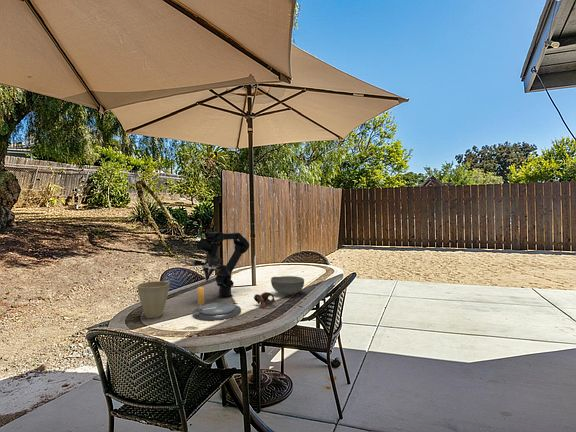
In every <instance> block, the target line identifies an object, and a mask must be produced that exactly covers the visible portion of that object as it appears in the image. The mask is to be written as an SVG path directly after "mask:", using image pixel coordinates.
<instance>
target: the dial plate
mask: <svg viewBox="0 0 576 432" xmlns="http://www.w3.org/2000/svg"><path fill="white" fill-rule="evenodd" d="M233 305H234V306H235V310H234V311H233V312H231V313H228V314H224V315H215V316H210V315H203V314H200V313H199V308H200V306H198V307H196V308H195V309H193V310H192V317H193V318H194V319H196V320H198V319H199V321H203V322H204V321H205V322H206V321H207V322H215V321H214V320H219V321H225V320H224V319H226V320H230V319H233V317H234V318H236V317H238V316H239V315H241V313H242V308H241V307H240V306H239V305H236V304H233ZM229 318H230V319H229Z"/></svg>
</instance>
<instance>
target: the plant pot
mask: <svg viewBox="0 0 576 432" xmlns="http://www.w3.org/2000/svg"><path fill="white" fill-rule="evenodd" d="M136 287H137V292H138V293H137V294H138V297H139V298H138V299H139V301H140V305H141V307H142V310H143V313H144V315H145V317H146V318H147V319H156V318H160V317H161V316H162V315H163V313H164V310H165V307H166V303H167V300H168V295H169V288H170V282H168V281H164V280H163V281H162V280H158V281H147V282H141V283H139V284H137V286H136Z"/></svg>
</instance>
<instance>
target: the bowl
mask: <svg viewBox="0 0 576 432" xmlns="http://www.w3.org/2000/svg"><path fill="white" fill-rule="evenodd" d="M270 284H271V286H272V289H273V290H274V291H275V292H276V293H278V294H280V295H284V296H292V295H295V294H298V293H299V292H300V291H302V289H303V288H304V285H305V279H304V278H303V277H300V276H297V275H296V276H293V275H287V276H285V275H283V276H272V277H271V278H270Z"/></svg>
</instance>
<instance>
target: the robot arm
mask: <svg viewBox="0 0 576 432" xmlns="http://www.w3.org/2000/svg"><path fill="white" fill-rule="evenodd" d="M225 240H233V245H234V251H233V253H232V255H231V257H230V258H229V259H228V261H227V264H222V258H220V257H219V258H218V252H219V248H221V247H222V245H221V244H220V243H221V242H223V241H225ZM249 248H250V243H249V240H247V238H245V237H244V236H243V235H242V233H241V232H228V233H227V232H226V233H225V232H221V231H210V232H209V233H208V235H207V236H206V237H205V238H203V237H200V240H198V242H197V243H196V249H197V250H198V251H201V252H205V253H206V255H205V260H204V262H203V261H202V260H198V259H197V260H196V259H194V260H193V261H192V263H191V265H192V266H197V267H198V266H200V267H201V266H202V267H201V269H202V270H203V272H204V278H205V281H206V282H207V281H209V278H210V277H211V275H212V274H213V273H214V271H217V270H218V272H217V274H215V275H216V276H215V281H216V282H215V283H216V286H217V287H219V289H218V297H220V298H222V299H225V298H230V297H233V294H232V287H233V286H234V281H233V280H232V272H233V271H234V269H235V267H236V265H237V263H238V262H239V260H240V258H241V257H242V255H243V254H245V253H246V252H247V251H248V250H249Z"/></svg>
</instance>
